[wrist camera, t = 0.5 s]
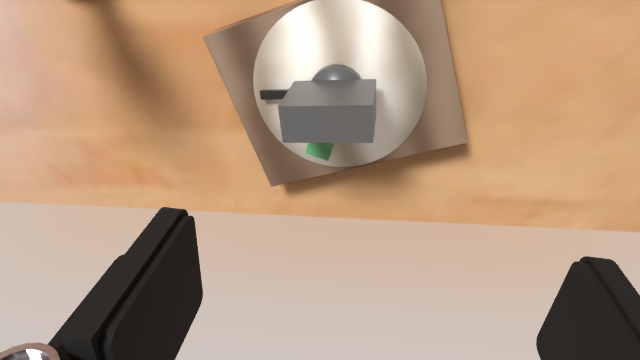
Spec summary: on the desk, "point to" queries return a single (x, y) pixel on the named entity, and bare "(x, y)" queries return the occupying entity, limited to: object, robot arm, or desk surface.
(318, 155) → the board
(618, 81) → the desk surface
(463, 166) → the desk surface
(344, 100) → the dark grey boxy piece
